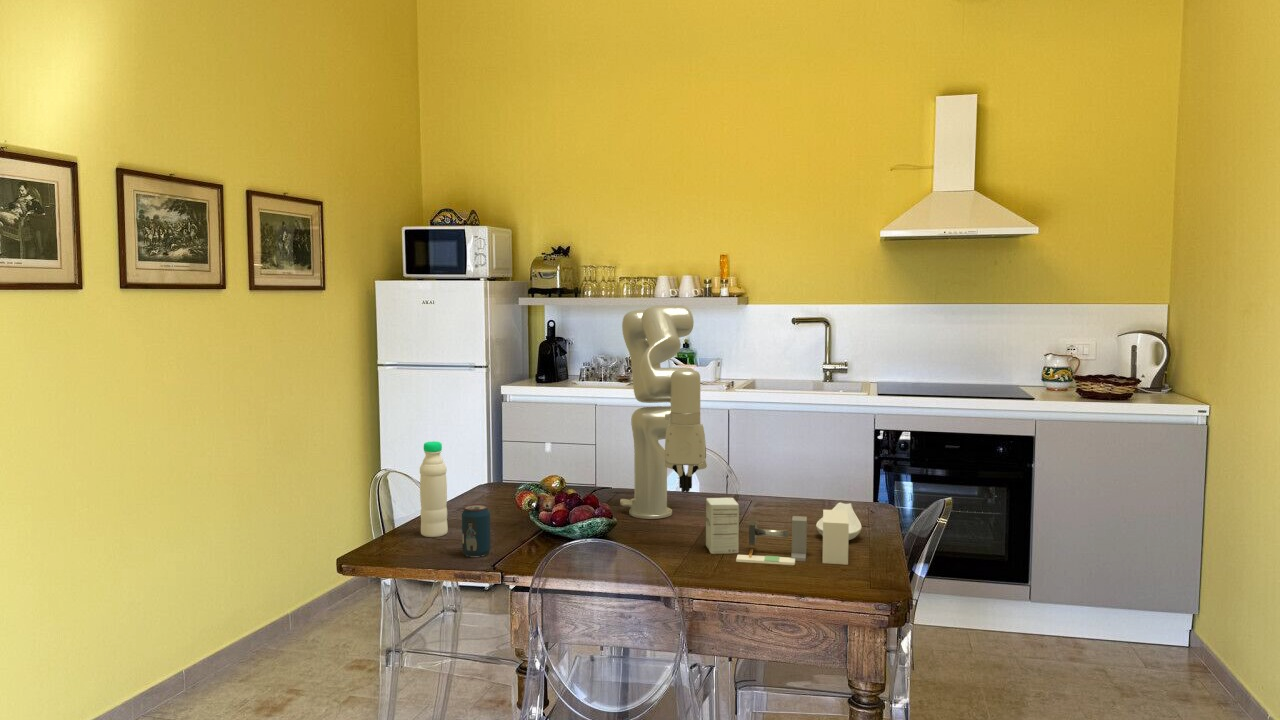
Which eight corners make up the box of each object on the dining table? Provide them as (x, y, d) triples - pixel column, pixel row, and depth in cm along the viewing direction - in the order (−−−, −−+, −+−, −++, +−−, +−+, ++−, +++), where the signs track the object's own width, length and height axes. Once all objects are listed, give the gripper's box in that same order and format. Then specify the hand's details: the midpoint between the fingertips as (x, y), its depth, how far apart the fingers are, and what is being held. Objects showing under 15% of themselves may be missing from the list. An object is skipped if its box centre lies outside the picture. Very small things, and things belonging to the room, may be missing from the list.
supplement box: (705, 546, 234) (705, 497, 233) (733, 545, 235) (734, 497, 234) (709, 554, 227) (710, 504, 226) (739, 553, 228) (739, 503, 227)
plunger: (747, 555, 222) (747, 529, 222) (750, 544, 232) (750, 519, 232) (786, 558, 220) (786, 531, 220) (788, 546, 231) (788, 520, 230)
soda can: (487, 548, 232) (487, 502, 231) (493, 556, 225) (492, 508, 224) (460, 551, 229) (459, 504, 228) (464, 559, 223) (464, 511, 222)
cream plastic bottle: (415, 534, 245) (413, 442, 243) (437, 529, 250) (436, 439, 248) (430, 539, 240) (429, 445, 238) (452, 534, 246) (451, 442, 244)
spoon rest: (859, 547, 234) (859, 519, 234) (813, 543, 238) (813, 516, 237) (866, 524, 256) (867, 499, 256) (824, 521, 260) (824, 496, 260)
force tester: (736, 561, 221) (736, 521, 220) (742, 543, 236) (742, 505, 236) (848, 568, 216) (849, 526, 215) (846, 549, 231) (847, 510, 230)
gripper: (653, 420, 228) (654, 493, 229) (713, 421, 225) (713, 495, 226) (659, 416, 235) (659, 487, 236) (716, 417, 232) (716, 489, 233)
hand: (685, 490), depth 231 cm, fingers closed
